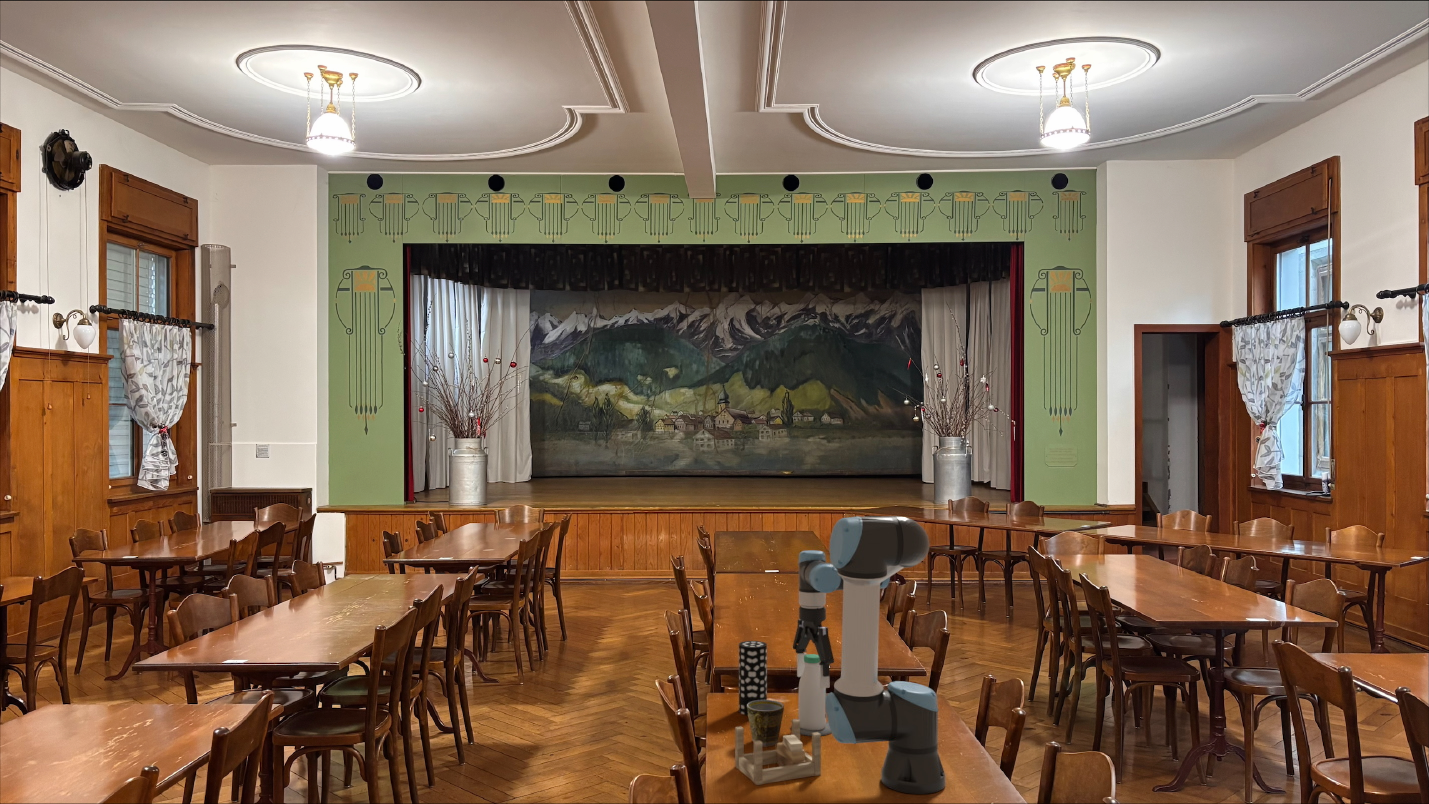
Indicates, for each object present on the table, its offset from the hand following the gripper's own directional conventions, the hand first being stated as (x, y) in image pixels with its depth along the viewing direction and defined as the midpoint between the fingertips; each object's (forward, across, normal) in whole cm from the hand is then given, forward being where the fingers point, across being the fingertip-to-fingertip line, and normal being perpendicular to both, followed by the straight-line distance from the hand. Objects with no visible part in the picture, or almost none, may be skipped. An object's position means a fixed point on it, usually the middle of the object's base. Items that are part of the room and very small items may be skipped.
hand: (812, 681), depth 270 cm
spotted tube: (+13, +22, +9) cm, 27 cm away
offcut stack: (+14, -24, +19) cm, 34 cm away
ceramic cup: (+14, -5, +18) cm, 23 cm away
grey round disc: (+13, +1, 0) cm, 13 cm away
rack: (+14, -24, +23) cm, 36 cm away
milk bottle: (+13, +1, 0) cm, 13 cm away
